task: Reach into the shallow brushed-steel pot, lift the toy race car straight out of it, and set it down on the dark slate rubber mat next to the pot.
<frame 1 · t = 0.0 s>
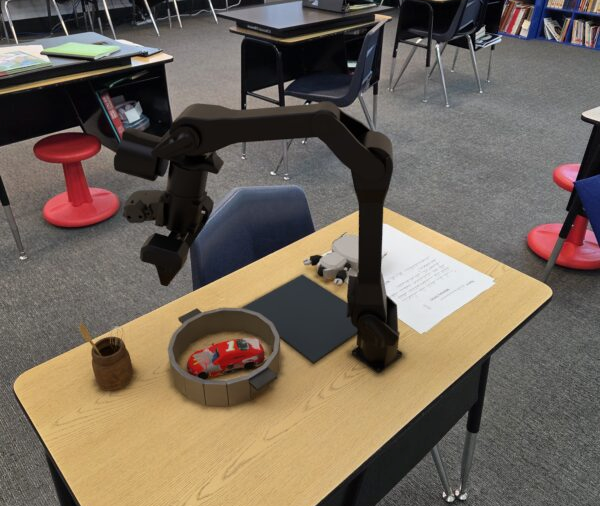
hand: (173, 268, 90), 15 cm above the table, tool pointing down, fingers open, 9 cm apart
utensil holder: (115, 379, 90), on the table
rubber mat: (307, 315, 103), on the table
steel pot: (226, 364, 93), on the table
robot toy: (343, 268, 117), on the table
race car: (226, 365, 93), resting in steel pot
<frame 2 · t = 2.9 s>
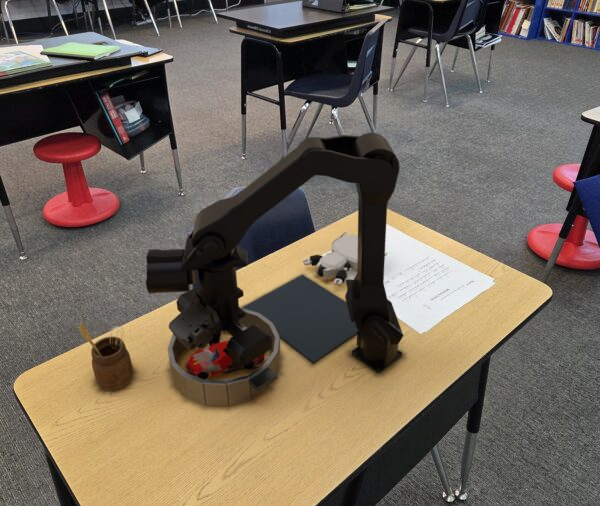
hand: (226, 360, 92), 1 cm above the table, tool pointing down, fingers closed on race car, 6 cm apart
race car: (226, 365, 93), resting in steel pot, touching gripper
everything else where it was.
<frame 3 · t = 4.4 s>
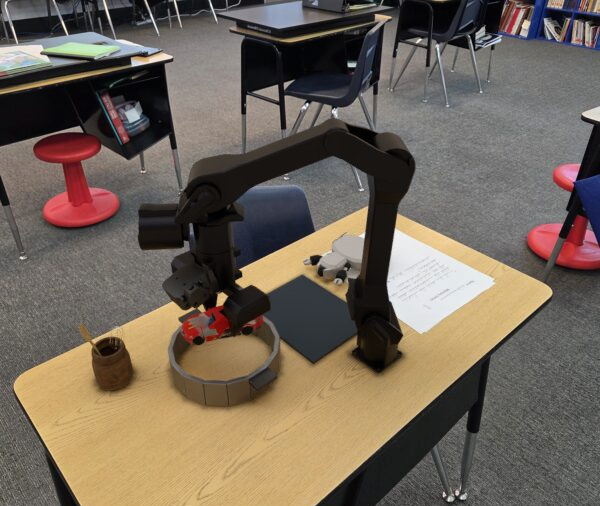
hand: (223, 325, 88), 9 cm above the table, tool pointing down, fingers closed on race car, 6 cm apart
race car: (223, 330, 89), point 7 cm above the table, touching gripper
everything else where it was.
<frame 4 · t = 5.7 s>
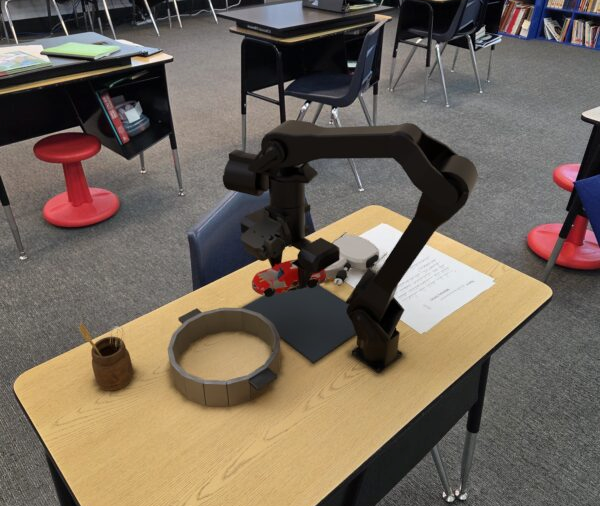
hand: (289, 279, 95), 11 cm above the table, tool pointing down, fingers closed on race car, 6 cm apart
race car: (289, 285, 96), point 10 cm above the table, touching gripper
everything else where it was.
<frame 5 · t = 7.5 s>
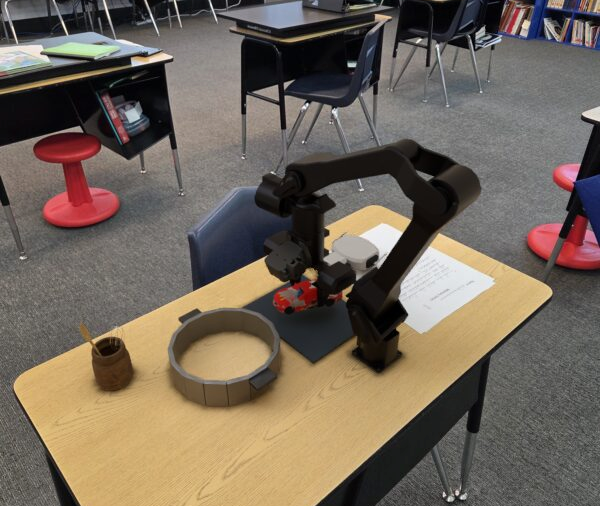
hand: (307, 298, 101), 4 cm above the table, tool pointing down, fingers closed on race car, 6 cm apart
race car: (307, 303, 102), point 3 cm above the table, touching gripper
everything else where it was.
when the fingers open (1 cm above the table, at t = 8.9 s): race car stays where it is, resting on rubber mat.
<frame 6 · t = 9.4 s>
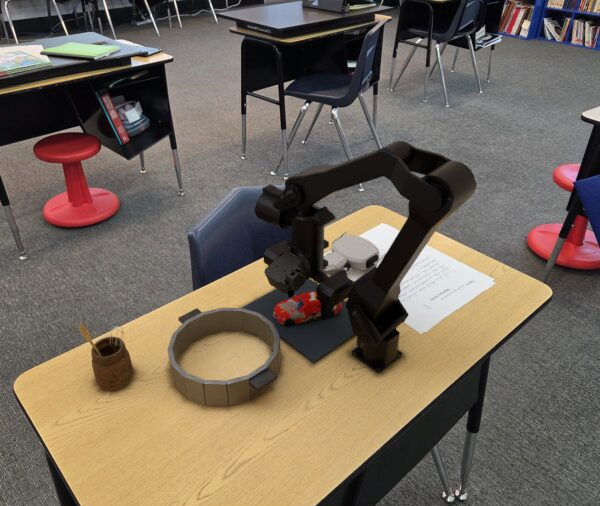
hand: (307, 307, 102), 2 cm above the table, tool pointing down, fingers open, 9 cm apart
race car: (307, 314, 103), resting on rubber mat
everything else where it was.
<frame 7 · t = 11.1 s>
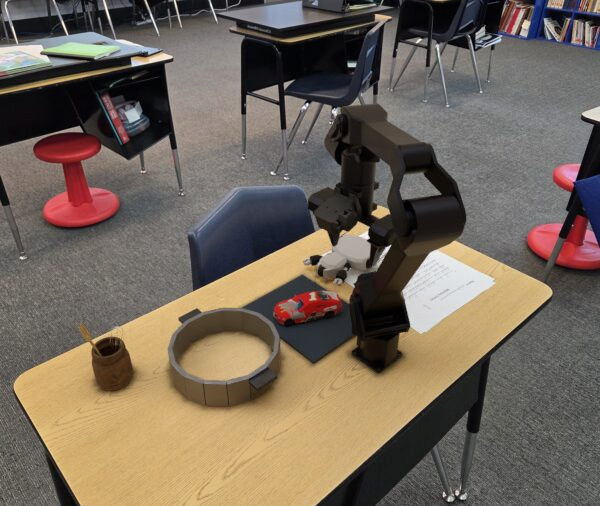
hand: (353, 255, 99), 12 cm above the table, tool pointing down, fingers open, 9 cm apart
nothing on the table moved.
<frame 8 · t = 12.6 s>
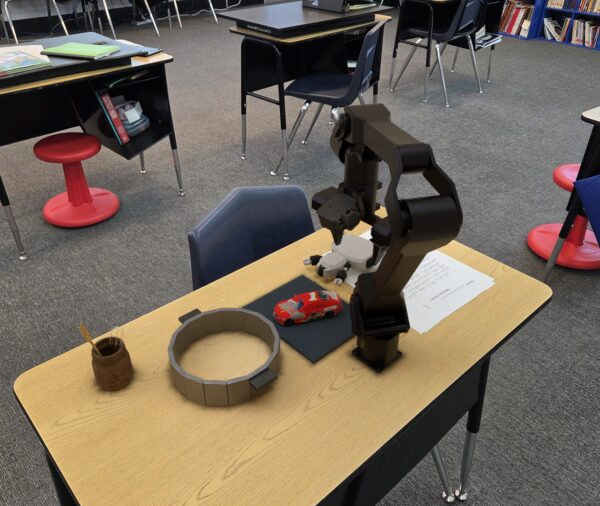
hand: (356, 254, 100), 12 cm above the table, tool pointing down, fingers open, 9 cm apart
nothing on the table moved.
at the end: race car inside the target area (0.1 cm from its centre), resting on rubber mat; race car tilted 0°; the gripper is holding nothing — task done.
